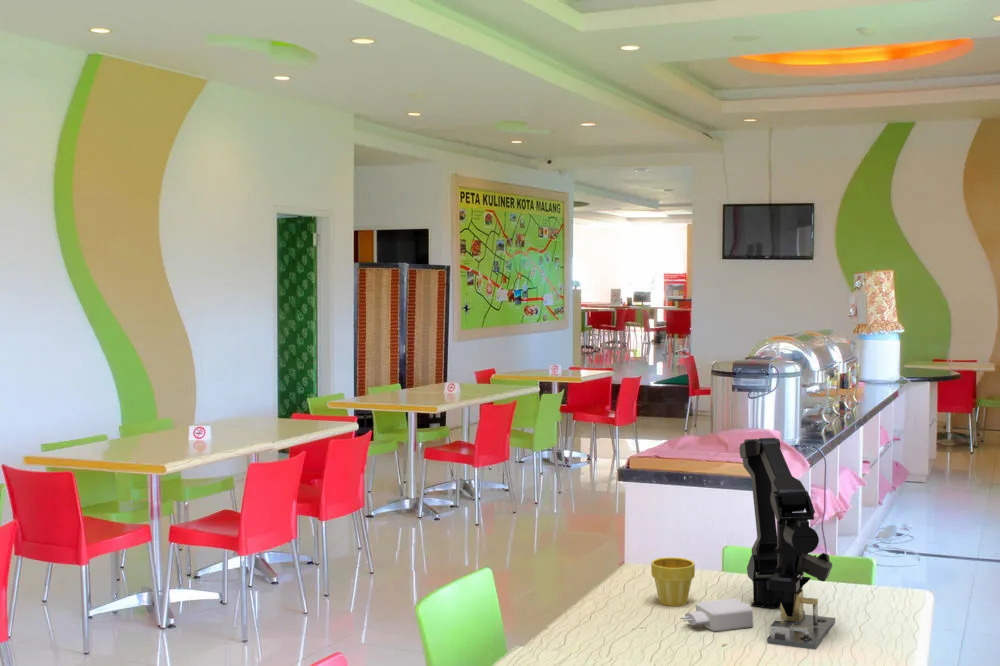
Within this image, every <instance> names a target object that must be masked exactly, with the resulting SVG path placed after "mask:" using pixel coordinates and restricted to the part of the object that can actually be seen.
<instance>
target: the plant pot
mask: <svg viewBox="0 0 1000 666" xmlns="http://www.w3.org/2000/svg"><path fill="white" fill-rule="evenodd" d="M650 565H651V567H650V568H651V576H652V578H654V583H655V588H656V592H657V597H658V601H659V603H660V604H661V605H663V606H667V607H680V606H684V605H686V604H688V600H689V596H690V595H689V594H690V590H691V584H692V580H693V579H694V577H695V574H696V573H695V572H696V571H695V570H696V568H695V567H696V566H695V565H696V564H695V562H694V561H693V560H690V559H688V558H682V557H675V556H674V557H672V556H671V557H670V556H668V557H660V558H656V559H653V560H651V564H650Z"/></svg>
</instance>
